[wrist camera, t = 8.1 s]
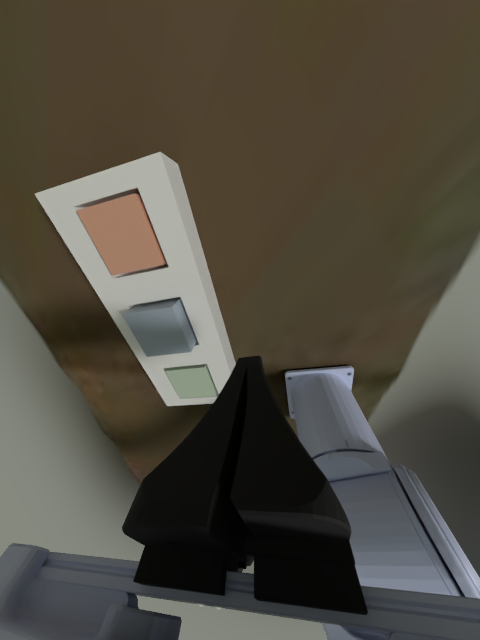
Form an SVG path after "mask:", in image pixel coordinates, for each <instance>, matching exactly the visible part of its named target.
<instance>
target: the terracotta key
mask: <svg viewBox="0 0 480 640" xmlns="http://www.w3.org/2000/svg"><path fill="white" fill-rule="evenodd" d="M77 213H78V215H79V217H80V219H81V220H82V222H83V224H84V226H85V228H86V229H87V231H88V233H89V235H90V237H91V238H92V240H93V242H94V244H95V246H96V247H97V249H98V251H99V253H100V255H101V256H102V258H103V260H104V262H105V264H106V265H107V267H108V269H109V271H110V273H111V275H112V276H113V275H117V274H122V273H127V272H132V271H136V270H141V269H146V268H151V267H155V266H160V265H164V264H166V263H167V261H166V259H165V256H164V254H163V251H162V248H161V246H160V243H159V241H158V238H157V236H156V233H155V231H154V228H153V225H152V223H151V220H150V218H149V215H148V213H147V210H146V208H145V205H144V202H143V200H142V197H141V195H139V194H135V193H134V194H131V195H127V196H124V197H120V198H117V199H114V200H110V201H107V202H104V203H100V204H97V205H93V206H90V207H87V208H83V209H80V210H77Z"/></svg>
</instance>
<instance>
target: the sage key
mask: <svg viewBox="0 0 480 640" xmlns="http://www.w3.org/2000/svg"><path fill="white" fill-rule="evenodd" d="M165 372H166V374H167V376H168V377H169V379H170V381H171V383H172V385H173V386H174V388H175V390H176V392H177V394H178V396H179V397H180V398H196V397H211V396H216V394H217V389H216V386H215V384H214V381H213V379H212V376H211V374H210V371H209V369H208V366H207V364H201V365H191V366H181V367H170V368H167V369H166V370H165Z"/></svg>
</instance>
